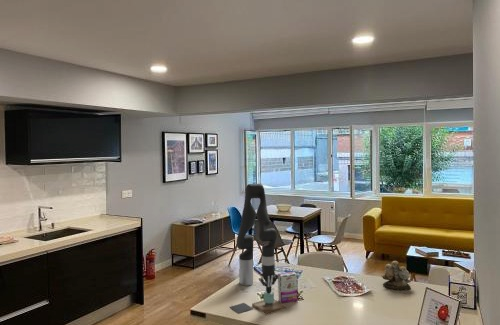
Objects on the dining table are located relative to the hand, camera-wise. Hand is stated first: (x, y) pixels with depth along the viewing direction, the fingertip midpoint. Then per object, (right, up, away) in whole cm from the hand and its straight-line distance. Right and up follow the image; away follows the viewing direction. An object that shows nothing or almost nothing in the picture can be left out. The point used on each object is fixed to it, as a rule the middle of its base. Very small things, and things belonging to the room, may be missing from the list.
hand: (268, 292), depth 217 cm
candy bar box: (+12, -8, +9) cm, 17 cm away
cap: (0, -5, 0) cm, 5 cm away
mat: (-16, -9, -1) cm, 18 cm away
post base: (0, -9, 0) cm, 9 cm away
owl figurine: (+85, -6, +28) cm, 89 cm away
